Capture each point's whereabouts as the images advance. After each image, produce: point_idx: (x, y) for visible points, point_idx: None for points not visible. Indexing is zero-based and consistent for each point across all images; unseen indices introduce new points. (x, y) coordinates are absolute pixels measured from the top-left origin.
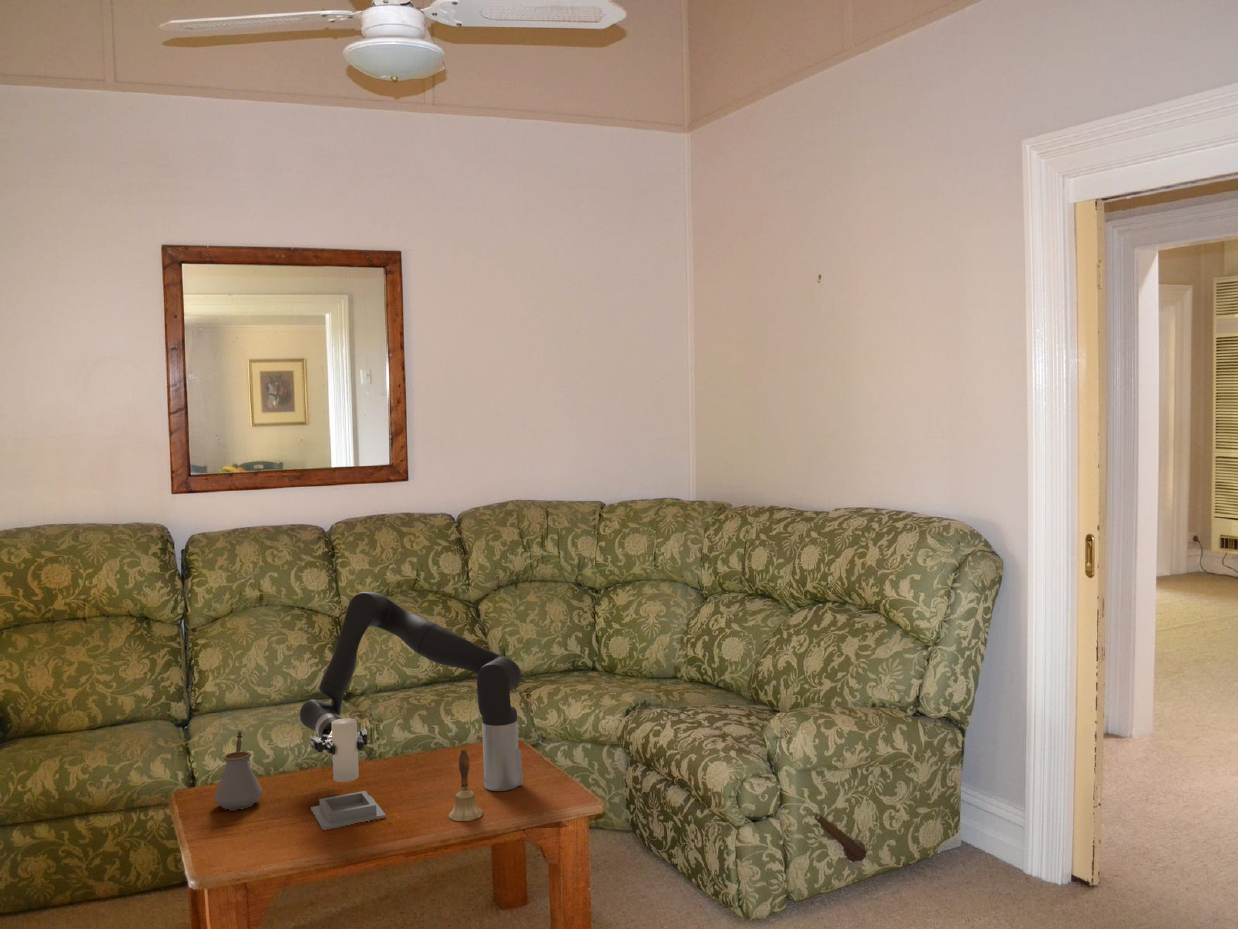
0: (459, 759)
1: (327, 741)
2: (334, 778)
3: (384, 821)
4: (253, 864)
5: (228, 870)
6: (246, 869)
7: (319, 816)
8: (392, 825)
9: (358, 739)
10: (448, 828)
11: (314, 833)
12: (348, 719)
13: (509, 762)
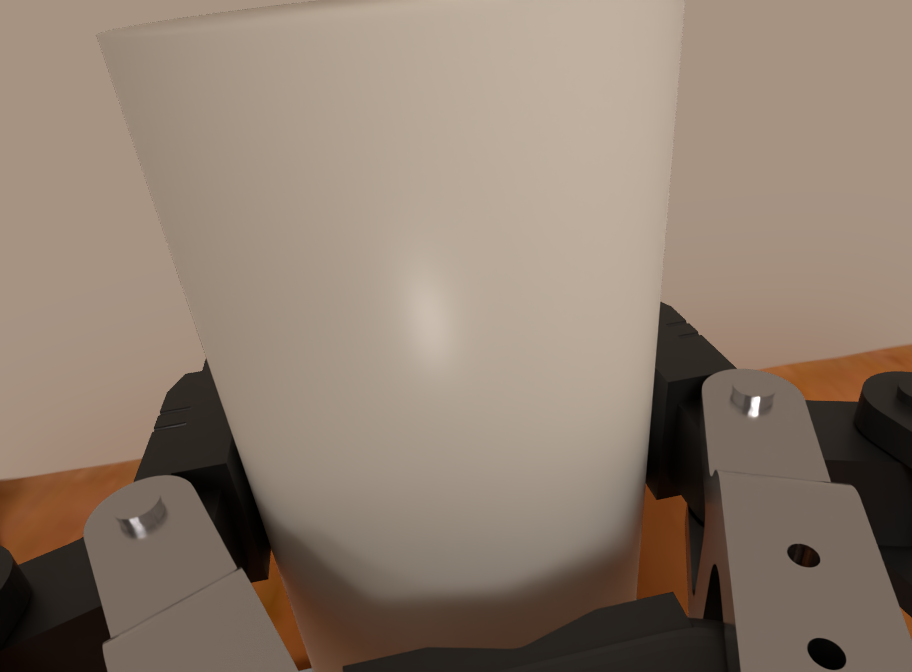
0: None
1: (751, 380)
2: None
3: (286, 644)
4: (829, 380)
5: (902, 361)
6: (833, 358)
7: None
8: (267, 579)
9: (215, 396)
10: (76, 490)
11: (676, 586)
12: (250, 18)
13: None
